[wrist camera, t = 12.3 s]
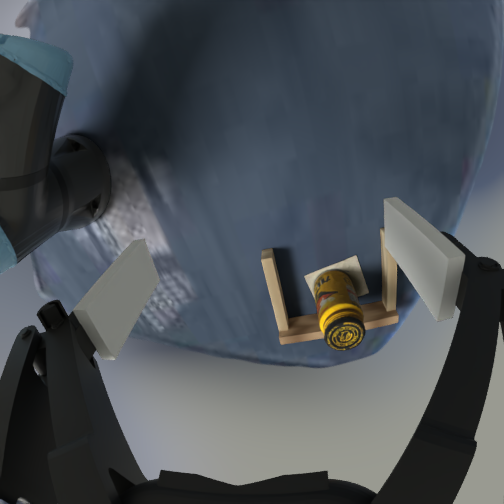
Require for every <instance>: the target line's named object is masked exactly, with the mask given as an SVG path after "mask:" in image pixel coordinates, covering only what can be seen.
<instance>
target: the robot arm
mask: <svg viewBox="0 0 504 504" xmlns="http://www.w3.org/2000/svg"><path fill="white" fill-rule="evenodd" d="M72 69H73V59H72V56H71V55H70V54H69V53H68V52H67V51H65V50H63V49H61V48H58V47H56V46H53V45H50V44H47V43H44V42H40V41H36V40H33V39H28V38H24V37H18V36H10V35H4V34H0V275H1V274H2V273H3V272H5V271H6V270H8V269H9V268H12V267H14V266H15V265H16V264H17V263H18V262H20V261H21V260H22V259H23V258H24V257H26V256H27V255H28V254H30V253H31V252H32V251H33V250H35V249H36V248H37V247H39V246H40V245H41V244H43V243H44V242H45V241H47V240H48V239H49V238H51V237H52V236H53V235H55V234H56V233H57V232H61V231H67V230H74V229H80V228H83V227H85V226H87V225H89V224H90V223H92V222H93V221H95V220H96V219H97V218H99V217H100V216H101V214H102V213H103V212H104V210H105V208H106V206H107V204H108V201H109V198H110V192H111V176H110V171H109V167H108V164H107V161H106V159H105V157H104V155H103V153H102V152H101V150H100V149H99V148H98V146H97V145H96V144H95V143H94V142H92V141H91V140H90V139H88V138H86V137H84V136H80V135H69V136H64V137H60V138H57V139H55V140H54V138H55V133H56V128H57V124H58V120H59V117H60V113H61V109H62V106H63V102H64V99H65V97H66V96H67V87H68V83H69V79H70V76H71V72H72ZM384 223H385V247H386V249H387V250H388V251H389V253H390V254H391V255H392V257H393V258H394V259H395V261H396V262H397V263H398V265H399V266H400V268H401V269H402V270H403V272H404V273H405V275H406V276H407V278H408V279H409V280H410V282H411V283H412V285H413V286H414V288H415V289H416V291H417V292H418V294H419V295H420V297H421V298H422V300H423V301H424V303H425V304H426V306H427V307H428V309H429V310H430V312H431V314H432V315H433V317H434V318H435V320H436V321H437V322H439V321H443V320H447V319H450V318H453V314H454V311H455V306H457V307H458V309H459V310H460V311H461V312H460V316H459V320H458V323H457V327H456V330H455V333H454V337H453V340H452V343H451V346H450V349H449V352H448V355H447V358H446V361H445V364H444V367H443V369H442V372H441V375H440V377H439V380H438V382H437V385H436V387H435V390H434V392H433V394H432V397H431V399H430V402H429V404H428V406H427V408H426V410H425V412H424V414H423V417H422V419H421V421H420V423H419V425H418V427H417V429H416V431H415V433H414V434H413V436H412V438H411V440H410V442H409V444H408V446H407V447H406V449H405V451H404V453H403V455H402V456H401V458H400V460H399V461H398V463H397V465H396V466H395V468H394V469H393V471H392V473H391V474H390V476H389V478H388V479H387V480H386V482H385V483H384V485H383V486H382V488H381V490H380V491H379V492H378V494H376V493H375V492H373V491H371V490H369V489H368V488H366V487H363V486H361V485H358V484H355V483H351V482H348V481H342V480H336V479H328V472H327V471H321V472H313V473H304V474H292V475H282V476H279V477H275V478H271V479H267V480H263V481H259V482H255V483H251V484H245V485H239V486H237V485H231V484H227V483H224V482H221V481H217V480H213V479H211V478H207V477H204V476H201V475H198V474H190V473H181V472H172V471H165V470H161V471H160V475H159V479H154V480H149V481H148V480H147V479H146V478H145V476H144V475H143V473H142V472H141V470H140V468H139V466H138V464H137V462H136V460H135V458H134V456H133V454H132V452H131V450H130V448H129V445H128V443H127V441H126V439H125V437H124V435H123V432H122V430H121V427H120V425H119V423H118V420H117V418H116V415H115V413H114V410H113V407H112V405H111V402H110V399H109V397H108V394H107V391H106V388H105V385H104V383H103V380H102V377H101V373H100V370H99V367H98V364H97V361H96V360H95V358H94V357H93V354H94V352H95V351H96V350H97V352H98V353H99V355H100V356H101V358H102V359H103V360H116V358H117V356H118V354H119V352H120V350H121V348H122V347H123V345H124V343H125V341H126V339H127V337H128V336H129V334H130V332H131V330H132V328H133V326H134V325H135V323H136V321H137V319H138V317H139V316H140V314H141V312H142V310H143V308H144V307H145V305H146V303H147V301H148V300H149V298H150V296H151V294H152V293H153V291H154V289H155V288H156V286H157V284H158V282H159V281H160V279H159V276H158V274H157V271H156V269H155V266H154V263H153V261H152V258H151V255H150V253H149V250H148V247H147V244H146V242H145V239H140V240H135V241H133V242H132V243H131V244H130V245H129V246H128V247H127V248H126V249H125V250H124V251H123V252H122V253H121V255H120V256H119V257H118V258H117V259H116V260H115V261H114V262H113V263H112V265H111V266H110V267H109V268H108V269H107V270H106V271H105V272H104V274H103V275H102V276H101V277H100V278H99V279H98V280H97V282H96V283H95V284H94V285H93V286H92V287H91V289H90V290H89V291H88V292H87V293H86V295H85V296H84V297H83V298H82V299H81V301H80V302H79V303H78V304H77V306H76V307H75V308H74V309H73V311H72V312H71V314H70V315H69V316H68V315H67V313H66V311H65V309H64V308H63V306H62V304H61V302H60V300H53V301H51V302H48V303H47V304H45V305H44V306H43V307H42V308H41V309H40V310H39V311H38V313H37V316H38V318H39V319H40V321H41V323H42V325H43V326H44V328H45V329H46V332H43V333H39V332H38V330H37V329H36V327H35V326H32V325H31V326H28V327H25V328H24V329H22V330H21V331H20V333H19V334H18V335H17V337H16V339H15V342H14V344H13V346H12V349H11V351H10V354H9V357H8V359H7V362H6V365H5V368H4V371H3V373H2V376H1V379H0V504H453V502H454V500H455V498H456V496H457V494H458V492H459V490H460V488H461V485H462V483H463V481H464V479H465V476H466V474H467V472H468V469H469V467H470V465H471V462H472V459H473V457H474V454H475V451H476V447H477V442H476V441H475V440H474V437H475V433H476V430H477V427H478V424H479V421H480V418H481V414H482V411H483V407H484V403H485V400H486V396H487V392H488V387H489V383H490V378H491V373H492V368H493V363H494V357H495V351H496V345H497V337H498V329H499V322H500V323H501V328H502V334H503V340H504V269H502V268H501V266H500V264H499V263H498V262H497V261H495V260H493V259H490V258H488V257H476V256H475V255H474V254H473V253H472V252H471V251H469V250H468V249H467V248H466V247H465V246H463V245H462V244H461V243H460V242H458V240H457V239H456V238H455V237H453V236H452V235H450V234H448V233H446V232H439V231H438V230H437V229H436V228H435V227H433V226H432V225H431V224H430V223H429V222H427V221H426V220H425V219H424V218H422V217H421V216H420V215H419V214H418V213H416V212H415V211H414V210H413V209H411V208H410V207H409V206H407V205H406V204H405V203H404V202H402V201H401V200H400V199H398V198H397V197H394V198H386V199H384ZM34 367H35V369H36V370H37V371H38V373H39V375H37V373H36V372H35V370H34Z"/></svg>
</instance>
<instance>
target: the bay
mask: <svg viewBox="0 0 504 504" xmlns="http://www.w3.org/2000/svg"><path fill="white" fill-rule="evenodd" d="M380 235H381V257H382V301H378V302H374V303H369V304H364V305H360V306H361V308H362V311H363V315H364V321H363V322H364V326H365V329H366V330H367V329H372V328H376V327H381V326H385V325H390V324H394V323H398V313H397V311H396V291H397V262H396V261H395V259H394V258H393V257H392V255H391V254H390V253H389V251H388V250H387V249H386V247H385V227H384V228H380ZM261 261H262V265H263V269H264V273H265V277H266V281H267V285H268V289H269V293H270V297H271V301H272V305H273V309H274V313H275V317H276V321H277V325H278V329H279V339H280V343H281V345H282V344H289V343H295V342H302V341H308V340H314V339H320V338H324V334H323V332H322V331H321V329H320V325H319V319H318V313H317V314H311V315H305V316H299V317H293V318H288V315H287V310H286V306H285V301H284V297H283V292H282V288H281V283H280V279H279V275H278V270H277V266H276V262H275V257H274V253H273V249H272V248H270V249H265V250H262V256H261Z"/></svg>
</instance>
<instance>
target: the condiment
mask: <svg viewBox="0 0 504 504" xmlns="http://www.w3.org/2000/svg"><path fill="white" fill-rule="evenodd" d="M345 270H346V271H345ZM347 271H349V272H347ZM304 277H305V279H306V281H307V283H308V286H309V288H310V290H311V292H312V294H313V296H314V298H315V302H316V308H317V313H318V319H319V325H320V329H321V331H322V332H323V334H324V340H325V342H326V343H327V345H328V346H329V347H331V348H332V349H335V350H338V351H344V350H349V349H352V348H355V347H356V346H358V345H359V344H360V343H361V341H362V340H363V338H364V336H365V330H366V329H365V326H364V322H363V321H364V315H363V311H362V308H361V306H360V303H359V301H358V298H357V297H359V296H362V295H365V294H367V293H369V291H368V288H367V285H366V282H365V279H364V276H363V273H362V271H361V268H360V265H359V262H358V259H357V256H356V255H355V256H353V257H351V258H348V259H346V260H344V261H341V262H339V263H336V264H334V265H331V266H328V267H326V268H323V269H321V270H318V271H316V272H313V273H311V274H308V275H306V276H304Z"/></svg>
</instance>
